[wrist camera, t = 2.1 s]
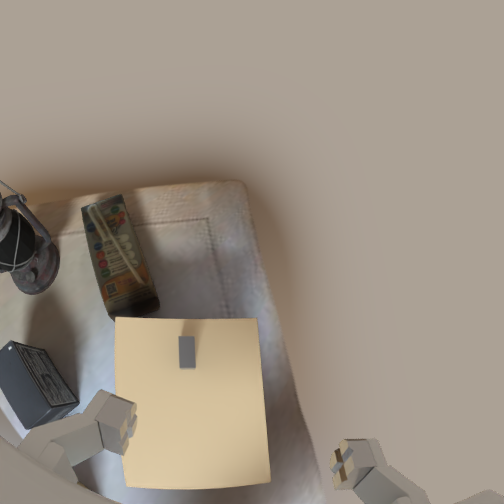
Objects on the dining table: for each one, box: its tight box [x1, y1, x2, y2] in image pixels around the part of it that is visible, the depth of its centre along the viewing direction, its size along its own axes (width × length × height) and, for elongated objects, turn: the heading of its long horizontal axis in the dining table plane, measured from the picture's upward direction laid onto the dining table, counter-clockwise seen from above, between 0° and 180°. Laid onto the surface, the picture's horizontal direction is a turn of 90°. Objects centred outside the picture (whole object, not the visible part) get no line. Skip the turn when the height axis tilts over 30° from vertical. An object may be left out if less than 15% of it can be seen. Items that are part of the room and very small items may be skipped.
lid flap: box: [115, 317, 271, 489], centre depth 25 cm, size 21×17×6 cm
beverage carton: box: [81, 194, 160, 322], centre depth 41 cm, size 8×19×7 cm, turn 27°
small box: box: [0, 340, 79, 430], centre depth 27 cm, size 11×6×10 cm, turn 44°
